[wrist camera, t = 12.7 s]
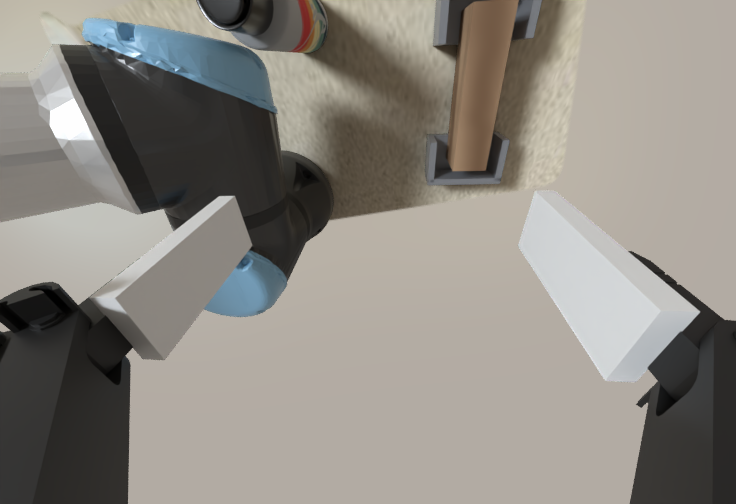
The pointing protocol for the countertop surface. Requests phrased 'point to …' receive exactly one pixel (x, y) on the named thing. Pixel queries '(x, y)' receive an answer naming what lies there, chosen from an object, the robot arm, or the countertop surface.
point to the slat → (478, 81)
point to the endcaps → (436, 164)
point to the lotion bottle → (270, 23)
